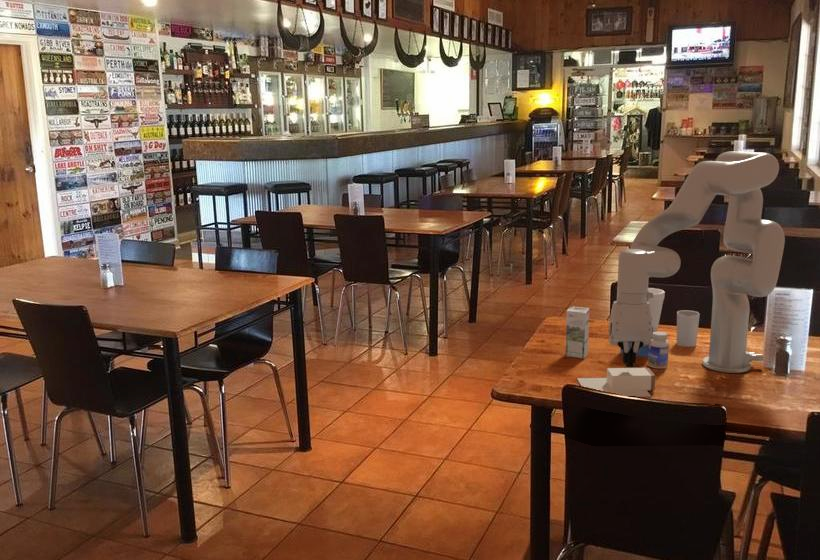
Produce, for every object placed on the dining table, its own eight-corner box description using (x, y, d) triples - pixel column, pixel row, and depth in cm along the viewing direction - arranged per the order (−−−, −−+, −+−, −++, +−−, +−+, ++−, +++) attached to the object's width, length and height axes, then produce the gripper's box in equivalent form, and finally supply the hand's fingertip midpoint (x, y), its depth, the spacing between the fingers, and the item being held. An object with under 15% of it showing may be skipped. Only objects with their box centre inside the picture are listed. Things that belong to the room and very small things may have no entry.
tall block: (648, 367, 198) (606, 368, 198) (655, 375, 192) (612, 375, 192) (647, 382, 198) (606, 382, 199) (654, 390, 193) (611, 390, 193)
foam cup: (643, 323, 254) (645, 286, 252) (667, 329, 247) (670, 291, 245) (627, 328, 249) (629, 291, 246) (651, 334, 242) (653, 295, 239)
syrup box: (588, 353, 224) (589, 307, 221) (584, 359, 219) (585, 312, 215) (569, 351, 226) (570, 305, 223) (564, 357, 221) (566, 310, 218)
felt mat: (636, 378, 202) (636, 377, 202) (650, 396, 189) (650, 395, 189) (577, 379, 202) (577, 378, 202) (587, 397, 190) (587, 395, 190)
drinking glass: (699, 347, 228) (702, 316, 225) (677, 347, 229) (679, 315, 226) (695, 341, 234) (697, 310, 232) (673, 340, 235) (675, 310, 233)
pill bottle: (643, 364, 214) (645, 331, 212) (659, 361, 216) (661, 329, 213) (656, 370, 209) (657, 336, 207) (671, 367, 211) (673, 334, 208)
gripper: (657, 293, 194) (653, 360, 198) (599, 294, 194) (596, 361, 198) (666, 300, 187) (662, 370, 191) (606, 301, 187) (603, 371, 191)
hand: (628, 365), depth 194 cm, fingers closed
